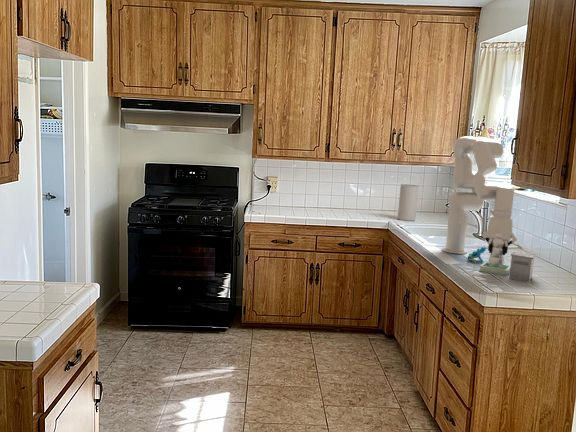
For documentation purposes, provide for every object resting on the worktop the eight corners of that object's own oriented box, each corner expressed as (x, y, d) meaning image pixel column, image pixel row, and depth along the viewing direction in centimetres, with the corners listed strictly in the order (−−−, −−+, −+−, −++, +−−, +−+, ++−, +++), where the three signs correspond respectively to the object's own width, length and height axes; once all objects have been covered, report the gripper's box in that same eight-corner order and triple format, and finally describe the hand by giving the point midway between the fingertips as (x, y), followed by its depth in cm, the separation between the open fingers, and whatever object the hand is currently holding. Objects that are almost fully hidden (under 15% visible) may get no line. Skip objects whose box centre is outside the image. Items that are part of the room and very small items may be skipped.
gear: (476, 255, 279) (488, 244, 272) (483, 264, 276) (495, 254, 269) (461, 259, 273) (473, 248, 266) (467, 269, 271) (480, 258, 263)
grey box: (511, 273, 249) (514, 250, 248) (532, 277, 245) (536, 253, 243) (507, 278, 240) (510, 254, 238) (529, 282, 236) (532, 257, 234)
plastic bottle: (495, 269, 249) (501, 225, 246) (484, 265, 255) (490, 222, 252) (506, 268, 251) (512, 225, 248) (495, 265, 257) (501, 222, 254)
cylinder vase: (417, 221, 394) (420, 186, 391) (399, 220, 394) (402, 185, 390) (412, 219, 407) (416, 185, 403) (395, 218, 406) (399, 183, 403)
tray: (484, 266, 261) (485, 261, 261) (510, 270, 255) (511, 265, 255) (479, 270, 251) (480, 265, 251) (506, 275, 245) (507, 270, 245)
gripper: (480, 212, 250) (476, 251, 253) (521, 217, 242) (516, 258, 245) (484, 210, 257) (479, 249, 260) (523, 215, 249) (518, 255, 251)
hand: (497, 253), depth 252 cm, fingers closed on plastic bottle, 5 cm apart
